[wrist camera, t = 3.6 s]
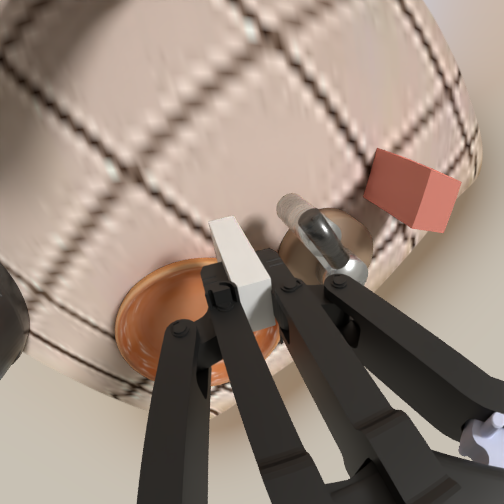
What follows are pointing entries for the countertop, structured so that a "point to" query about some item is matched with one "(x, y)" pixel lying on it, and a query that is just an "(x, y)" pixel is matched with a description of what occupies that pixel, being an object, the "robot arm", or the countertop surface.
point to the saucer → (170, 316)
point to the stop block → (411, 191)
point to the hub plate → (306, 263)
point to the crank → (320, 239)
